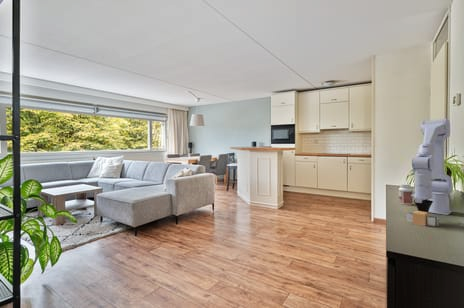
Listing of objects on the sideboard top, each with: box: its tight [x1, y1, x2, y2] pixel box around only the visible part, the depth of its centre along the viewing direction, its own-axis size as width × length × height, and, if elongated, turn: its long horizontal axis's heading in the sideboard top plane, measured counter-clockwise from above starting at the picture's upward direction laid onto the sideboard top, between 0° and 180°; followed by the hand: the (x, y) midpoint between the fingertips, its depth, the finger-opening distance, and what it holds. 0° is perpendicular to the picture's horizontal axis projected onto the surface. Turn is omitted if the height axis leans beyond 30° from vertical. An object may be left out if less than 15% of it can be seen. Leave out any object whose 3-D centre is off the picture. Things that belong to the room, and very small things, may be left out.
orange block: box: [412, 210, 430, 227], centre depth 98 cm, size 6×4×4 cm
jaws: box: [404, 211, 440, 227], centre depth 99 cm, size 4×11×3 cm, turn 38°
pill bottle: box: [398, 183, 414, 206], centre depth 133 cm, size 6×6×11 cm
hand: (423, 217), depth 101 cm, fingers closed
